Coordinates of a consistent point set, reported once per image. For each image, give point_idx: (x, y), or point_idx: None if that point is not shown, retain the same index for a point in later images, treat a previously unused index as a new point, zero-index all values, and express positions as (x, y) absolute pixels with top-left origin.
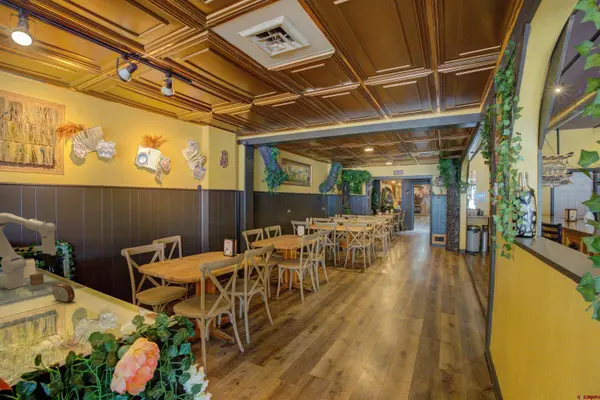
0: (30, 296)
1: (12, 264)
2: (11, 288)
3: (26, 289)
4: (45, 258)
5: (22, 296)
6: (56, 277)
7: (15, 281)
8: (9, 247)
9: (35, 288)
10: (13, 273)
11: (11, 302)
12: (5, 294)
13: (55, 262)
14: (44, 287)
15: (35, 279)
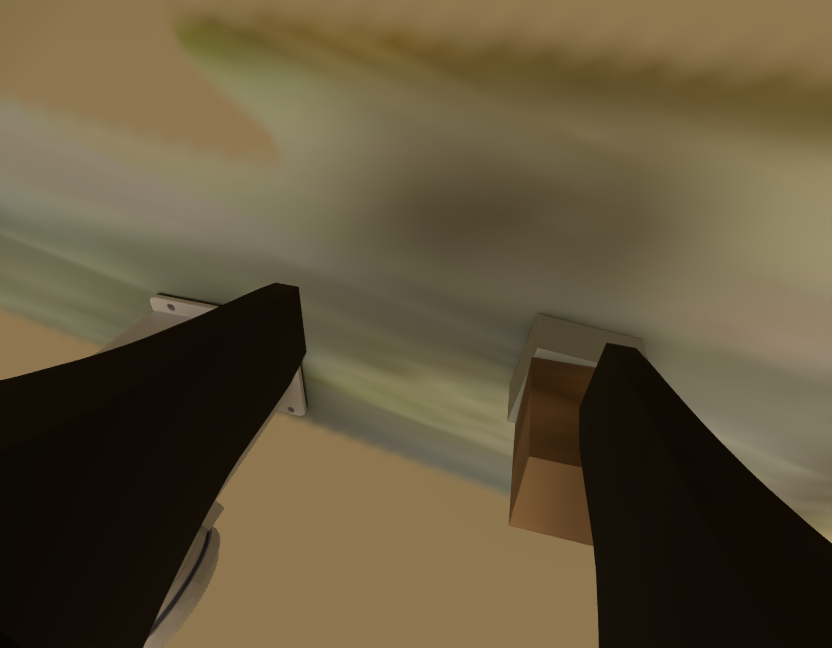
0: (768, 488)
1: (167, 633)
2: (304, 404)
3: (456, 388)
4: (187, 500)
5: None
6: (192, 17)
7: (267, 420)
8: None
9: None
10: (217, 496)
11: None
12: (435, 468)
13: (698, 431)
14: (640, 347)
15: None
